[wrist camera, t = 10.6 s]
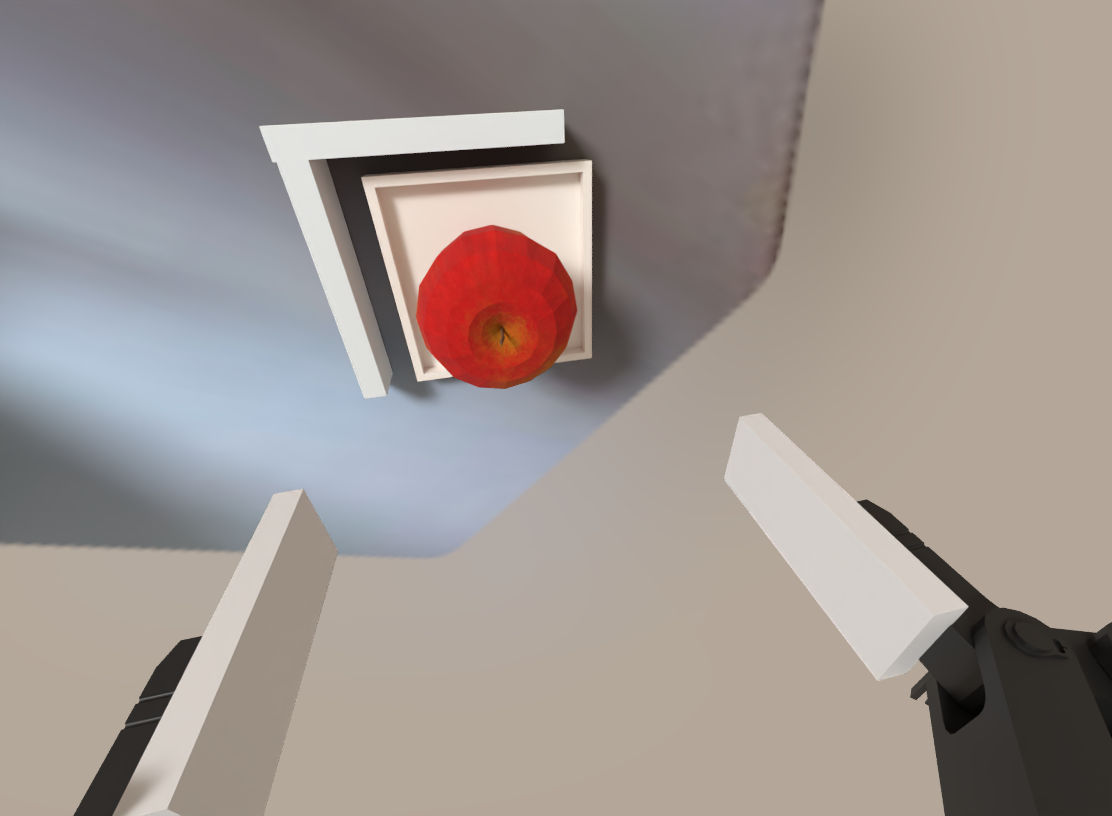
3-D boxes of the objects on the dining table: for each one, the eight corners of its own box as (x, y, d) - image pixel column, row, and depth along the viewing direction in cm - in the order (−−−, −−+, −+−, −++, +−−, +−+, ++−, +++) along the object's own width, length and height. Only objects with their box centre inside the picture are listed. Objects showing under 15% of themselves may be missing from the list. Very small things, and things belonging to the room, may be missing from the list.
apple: (450, 347, 33) (441, 439, 23) (406, 227, 28) (372, 278, 18) (563, 320, 33) (604, 398, 23) (542, 197, 28) (581, 230, 18)
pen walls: (369, 376, 34) (361, 399, 31) (282, 126, 24) (258, 126, 21) (562, 350, 36) (571, 370, 33) (552, 111, 26) (563, 109, 23)
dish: (419, 370, 34) (417, 381, 33) (366, 174, 26) (361, 177, 25) (586, 348, 36) (591, 358, 35) (584, 158, 28) (591, 160, 27)
